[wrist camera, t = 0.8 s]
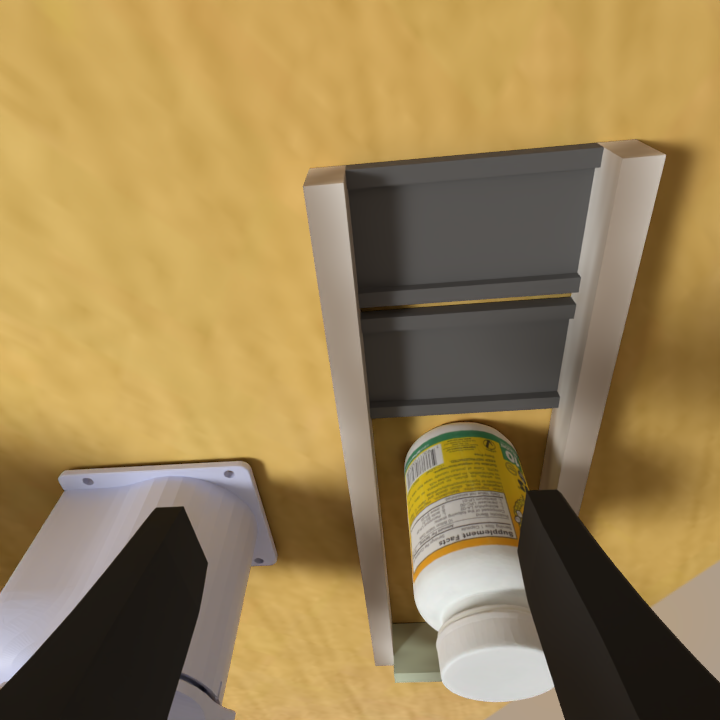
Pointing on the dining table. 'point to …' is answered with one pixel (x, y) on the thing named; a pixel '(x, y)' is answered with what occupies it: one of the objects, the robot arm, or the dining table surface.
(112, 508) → the robot arm
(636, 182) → the box
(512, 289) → the trap pits
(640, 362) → the dining table surface
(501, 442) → the supplement bottle
